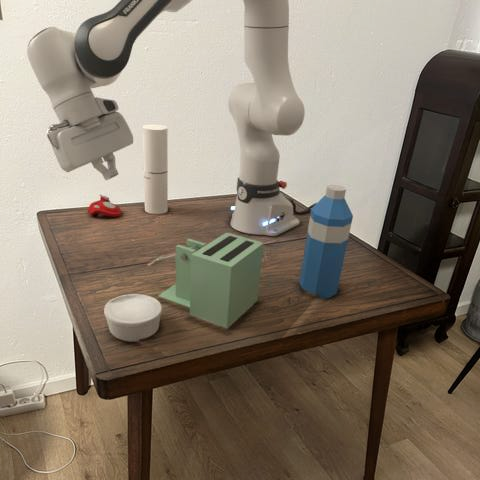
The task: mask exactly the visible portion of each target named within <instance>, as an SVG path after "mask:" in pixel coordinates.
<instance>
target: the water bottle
mask: <svg viewBox="0 0 480 480" xmlns="http://www.w3.org/2000/svg"><path fill="white" fill-rule="evenodd" d="M346 193H347V188H346V187H345V186H343V185H339V184H328V185H327V186H326V189H325V194H324V195H323V197H321V198H320V199H319V201H317V202H315V203H316V204H315V203H314V204H315V205H314V206H313V207H312V208H311V209H310V214H309V215H310V216H309V220H308V227H307V232H306V240H305V245H304V251H303V257H302V264H301V271H300V275H299V282H298V284H299V285H300V286H301V289H302V290H303V291H306V292H309V293H310V294H313V295H317V296H316V297H315V298H316V299H330V298H332V297H333V296H334V295H337V294H338V291H339V285H340V280H341V276H342V271H343V266H344V261H345V256H346V251H347V247H348V242H349V237H350V233H351V227H352V223H353V219H354V215H353V213H352V211H351V209H350V207H349V204H348V203H347V200H346V198H345V197H346Z"/></svg>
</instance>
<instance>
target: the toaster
mask: <svg viewBox="0 0 480 480" xmlns="http://www.w3.org/2000/svg"><path fill="white" fill-rule="evenodd" d="M264 245H265V242H262V241H259V240H255V239H252V238H248V237H244V236H241V235H238V234H234V233H230V232H225V233H223V234H221V235H219V236H218V237H217V238H215V239H214V240H212V241H210V242H209V243H206V246H204V247H202V248H201V249H199V250H198V251H196V252H194V253H193V254H191V287H190V308H189V314H188V316H190V317H192V318H195V319H198V320H201V321H203V322H205V323H209V324H211V325H214V326H216V327H219V328H222V329H225V330H228V329H230V327H231V326H233V325H234V324H235V323H236V322H237V321H238V320H239V319H240V318H241V317H242V316H243V315H244V314H245V313H247V312H248V311H249V309H251V308H252V307H253V306H254V305H255V304H256V303H257V302H259V291H260V280H261V272H262V262H263V256H264V255H263V254H264Z"/></svg>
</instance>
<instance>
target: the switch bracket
mask: <svg viewBox="0 0 480 480" xmlns="http://www.w3.org/2000/svg"><path fill="white" fill-rule="evenodd" d="M196 244H197V246H198V249H201V248H202V247H204V246H206V245H207V243H205V242H202V241H200V240H195V239H193V238H188V239H186V246H185V245H181V244H177V245H176V246H175V254H176V260H175V283H174V284H173V285H171V286H170V287H169V288H167V289H165V290H164V291H162V292H161V293H159V294H158V295H157V297H158V298H161V299H164V300H166V301H169V302H172V303H175V304H176V305H177V304H178V305H180V306H183V307H186V308H188V309H190V287H191V254H193V253H194V252H196V250H195V249H191V248H188V247H189V246H192V245H196Z"/></svg>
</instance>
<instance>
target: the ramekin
mask: <svg viewBox="0 0 480 480" xmlns="http://www.w3.org/2000/svg"><path fill="white" fill-rule="evenodd" d="M103 313H104V317H105V319H106V323H107V326H108V329H109V332H110V334H111V335H112V336H113V337H115V338H116V339H118V340H120V341H123V342H127V343H134V342H135V343H136V342H137V343H138V342H142V340H144V339H147V338H149V337H151V336H153V335H155V334H156V333H157V331H158V330H159V327H160V321H161V316H162V313H163V306H162V303H161V302H160V301H159V300H158V299H156V298H155V297H152V296H150V295H146V294H140V293H139V294H138V293H131V294H129V293H128V294H124V295H123V294H122V295H119V296H117V297H113V298H112V299H109V301H108V302H106V304H105V306H104V309H103Z"/></svg>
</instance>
